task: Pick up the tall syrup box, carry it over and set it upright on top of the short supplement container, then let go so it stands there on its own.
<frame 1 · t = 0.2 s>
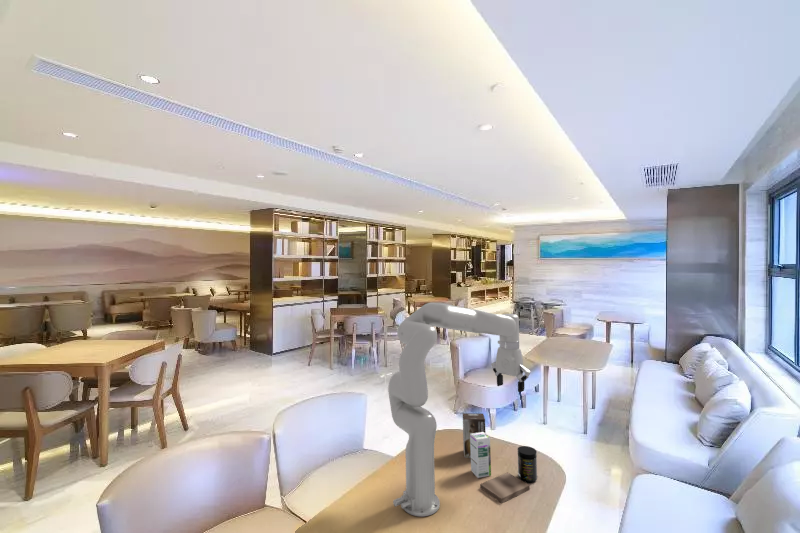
hand: (510, 388, 144), 31 cm above the table, tool pointing down, fingers open, 9 cm apart
supplement container: (527, 479, 134), on the table
walnut serving board: (504, 488, 128), on the table
coffee box: (474, 454, 152), on the table
syrup box: (480, 473, 138), on the table
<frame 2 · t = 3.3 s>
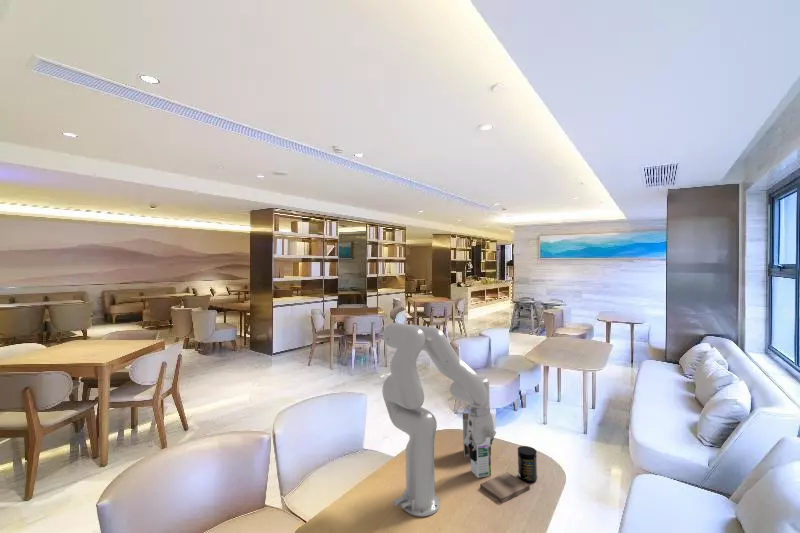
hand: (480, 456, 138), 6 cm above the table, tool pointing down, fingers closed on syrup box, 6 cm apart
syrup box: (480, 473, 138), on the table, touching gripper
everything else where it was.
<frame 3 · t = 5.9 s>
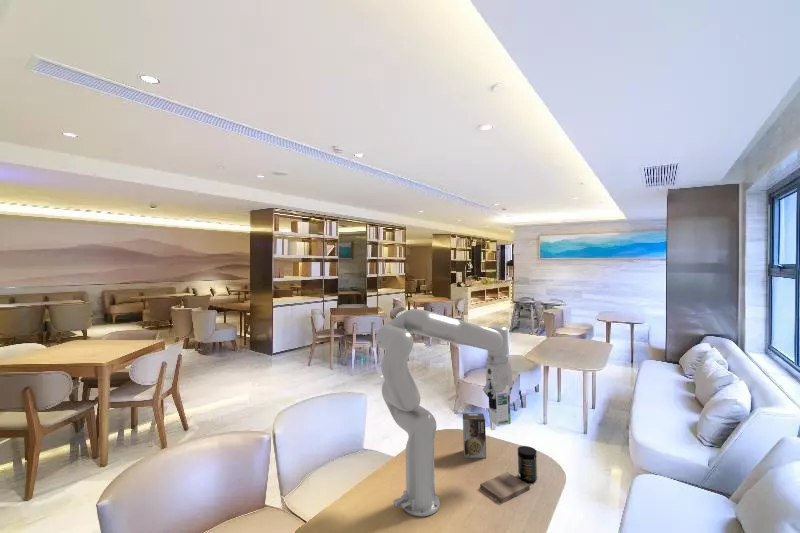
hand: (499, 405, 137), 26 cm above the table, tool pointing down, fingers closed on syrup box, 6 cm apart
syrup box: (499, 422, 137), point 20 cm above the table, touching gripper
everything else where it was.
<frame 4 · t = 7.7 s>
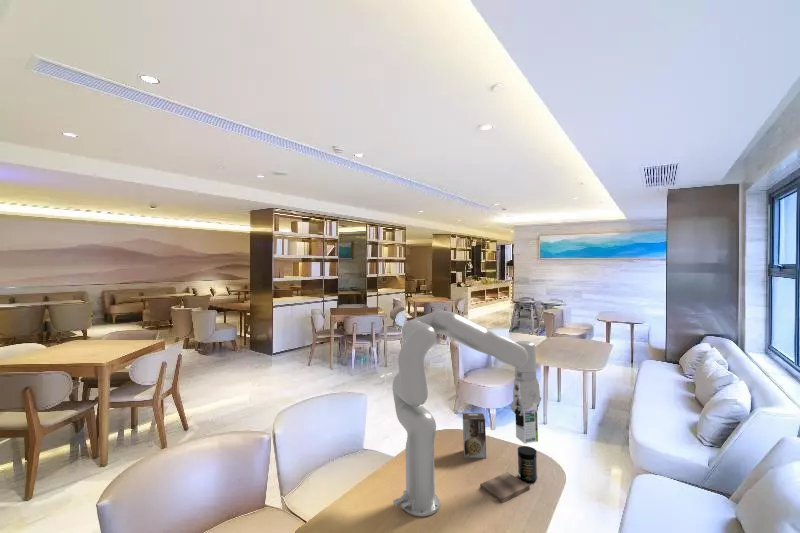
hand: (526, 422, 134), 21 cm above the table, tool pointing down, fingers closed on syrup box, 6 cm apart
syrup box: (526, 440, 134), point 14 cm above the table, touching gripper
everything else where it was.
when the fingers open (17 cm above the table, at t = 8.9 s): syrup box stays where it is, resting on supplement container.
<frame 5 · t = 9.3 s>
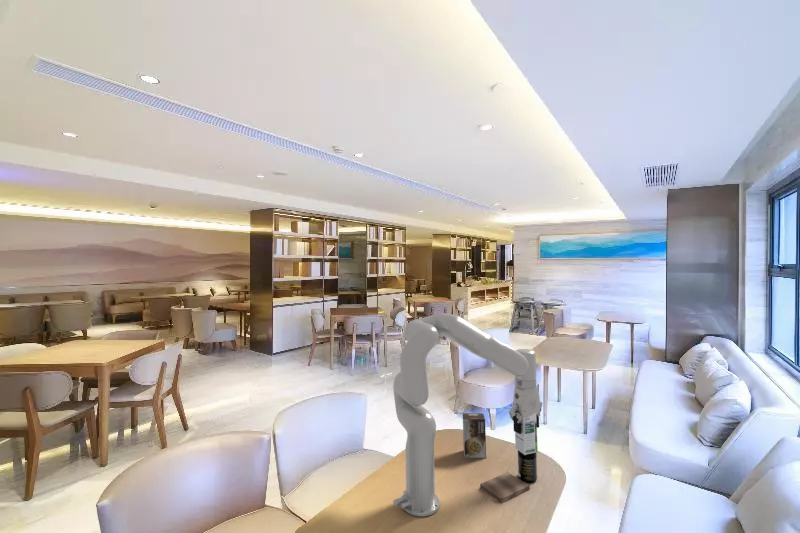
hand: (526, 429, 134), 18 cm above the table, tool pointing down, fingers open, 9 cm apart
supplement container: (527, 479, 134), on the table, touching syrup box
syrup box: (526, 450, 134), point 10 cm above the table, touching supplement container
everything else where it was.
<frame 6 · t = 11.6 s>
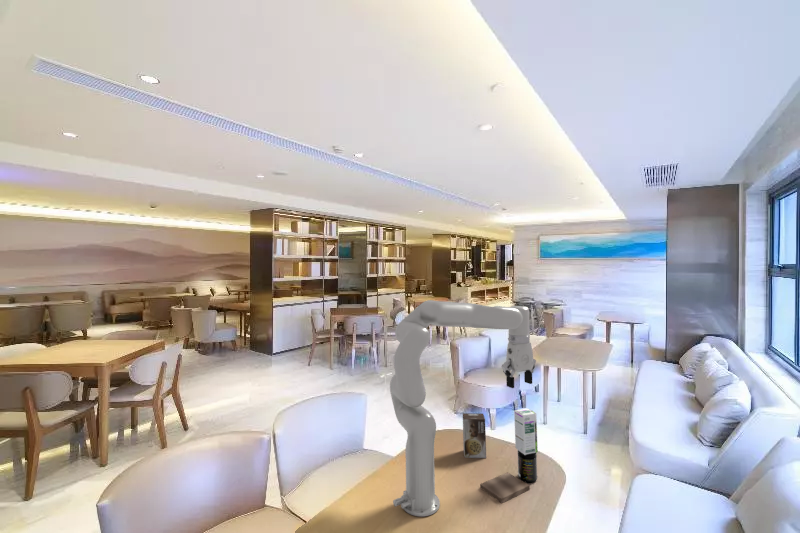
hand: (519, 385, 135), 34 cm above the table, tool pointing down, fingers open, 9 cm apart
nothing on the table moved.
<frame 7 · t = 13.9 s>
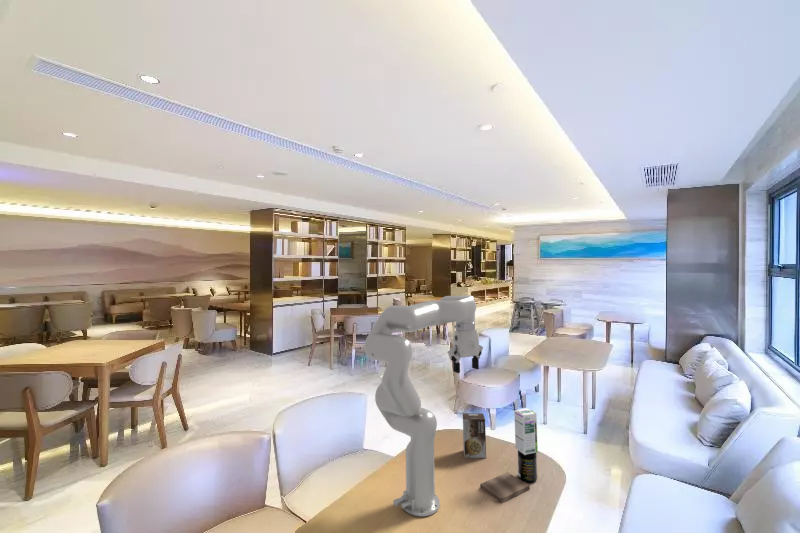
hand: (466, 370, 142), 38 cm above the table, tool pointing down, fingers open, 9 cm apart
nothing on the table moved.
at the end: syrup box 0.3 cm off-centre on the supplement container, point 10.4 cm above the supplement container's base; syrup box tilted 0°; the gripper is holding nothing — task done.
